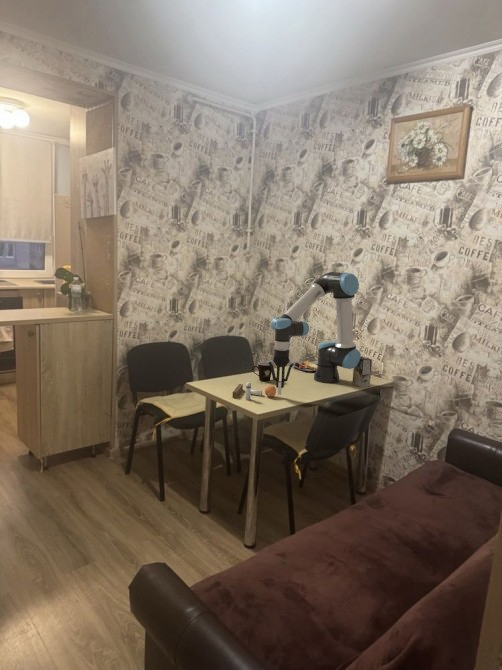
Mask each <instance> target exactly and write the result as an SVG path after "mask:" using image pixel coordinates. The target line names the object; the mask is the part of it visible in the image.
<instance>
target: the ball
mask: <svg viewBox="0 0 502 670" xmlns="http://www.w3.org/2000/svg"><path fill="white" fill-rule="evenodd" d="M264 394H265V396H267V397H269V398H273V397H274V396H275V395H276V394H277V388H276V386H274V385H272V384H269V385H267V386H265V388H264Z"/></svg>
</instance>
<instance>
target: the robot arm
mask: <svg viewBox="0 0 502 670" xmlns="http://www.w3.org/2000/svg"><path fill="white" fill-rule="evenodd" d="M359 289H360V283H359V279H358V278H357V276H356V275H355V274H353V273H349V272H339V271H338V272H336V271H330V272H326V273H324V274H322V275H321V276H319V277H318V278H316V280H314V281H313V282H312V283H311V284H310V287H309V288H308V290H307V291H305V292H304V294H303V295H301V296H300V298H298V300H296V301H295V302H294V303H292V305H291V306H290V307H289V308H288V309H287V310H286V311H285V312H284V313H283V314H282V315H281V316H280V317H274V318H273V319H272V320H271V322H270V323H271V324H270V327H271V329H272V330H273V331H274V332H275V333H274V351H273V358H272V359H271V360H269V361H268V362H269V365H270V367H271V377H272V381H275V382H276V384H275V385H276V386H275V388H276V389H277V395H278V396H279V395H280V396H281V395H282V389H284V387H285V382H288V379H289V376H290V374H291V369H292V368H293V365H294V362H292V361H291V360H290V344H291V343H290V341H291V338H292V337H303V336H307V335H308V334H309V331H310V325H309V323H308V322H307V321H305V320H304V321H301V320H299V319H300V318H301V317H302V316H303V315H304V314H305V313H306V311H308V310H309V309H310V308H311V307H312V306H313V305H314V304H315V303H316V302H317V301H318V300H319V299H320V298H323V297H324V296H325V295H327V294H332V298H333V300H335V303H336V305H335V308H336V309H335V310H336V329H337V330H336V332H337V333H336V335H337V341H321V342H320V343H319V344H318V349H317V351H318V352H317V363H318V366H317V369H316V372H315V371H314V375H313V380H314V381H316V382H320V383H325V384H326V383H327V384H334V383H338V382H339V383H340V374H339V369H338V367H341V368H344V369H348V370H351V369H354V367H356V366H357V364H358V363H359V361H360V357H361V356H362V355H361V351H359V349H357V344H356V343H355V342H354V334H353V332H354V331H353V329H354V328H353V299H354V298H355V296H356V294H357V293H358V290H359ZM274 364H275V366H276V371H275V366H274ZM287 365H288V368H287V372H286V371H285V370H286V367H287ZM280 370H281V373H280ZM285 373H286V376H285ZM280 374H281V380H280Z"/></svg>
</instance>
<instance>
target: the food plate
mask: <svg viewBox="0 0 502 670" xmlns="http://www.w3.org/2000/svg"><path fill="white" fill-rule="evenodd" d="M293 363H294V365H293V366H292V368H293V367H294V368H296V369H298V370H299V371H305V372H315V371H316V369H317V366H318V361H317V362H316V361H310V360H309V359H306V360H304V361H295V362H293Z"/></svg>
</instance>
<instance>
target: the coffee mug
mask: <svg viewBox="0 0 502 670" xmlns="http://www.w3.org/2000/svg"><path fill="white" fill-rule="evenodd" d="M255 368H257V370H258V373H257V372H255V371H254V369H255ZM251 371H252V373H254V374H255V375H256V376H258V381H260V382H264V383H267V382H270V381H271V377H272V372H271V367H270V365H269V361H260V362H258V363H257V365H255V366H252V369H251Z"/></svg>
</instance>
